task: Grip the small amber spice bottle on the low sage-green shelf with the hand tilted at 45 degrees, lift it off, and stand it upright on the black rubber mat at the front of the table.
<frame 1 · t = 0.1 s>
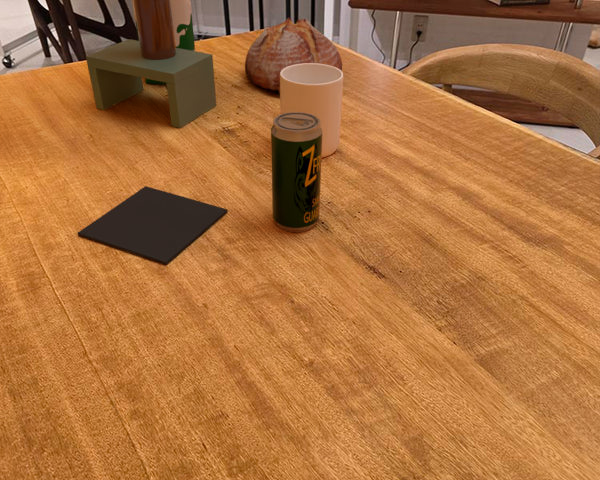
bread: (292, 79, 105), on the table
beer can: (295, 222, 68), on the table
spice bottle: (158, 54, 89), point 8 cm above the table, touching shelf
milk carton: (171, 79, 104), on the table
mug: (309, 142, 85), on the table
shelf: (157, 107, 94), on the table
mat: (155, 223, 68), on the table
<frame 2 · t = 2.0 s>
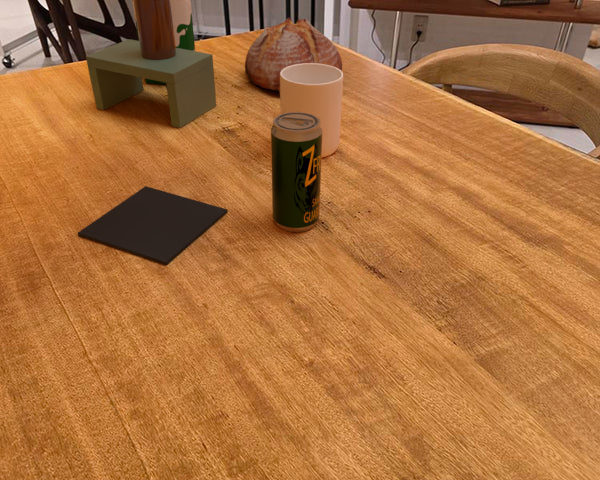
nothing on the table moved.
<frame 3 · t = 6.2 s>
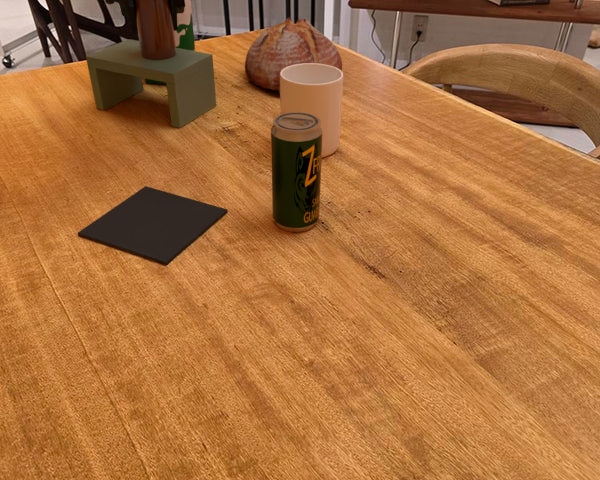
hand: (154, 23, 90), 12 cm above the table, tool tilted 45°, fingers closed on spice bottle, 5 cm apart
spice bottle: (158, 54, 89), point 8 cm above the table, touching gripper, shelf
everything else where it was.
when the fingers open (4 cm above the table, at t = 19.6 s): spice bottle stays where it is, resting on mat.
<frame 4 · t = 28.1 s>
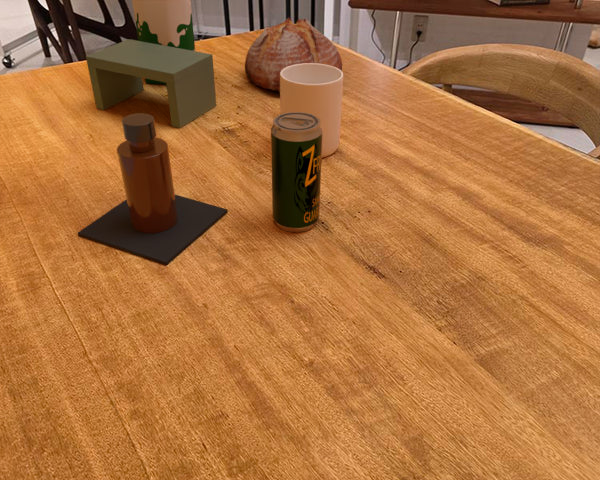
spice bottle: (154, 220, 67), resting on mat
everything else where it was.
at the end: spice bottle inside the target area on the mat (0.0 cm from its centre), point 0.4 cm above the mat's base; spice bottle tilted 0°; the gripper is holding nothing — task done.
